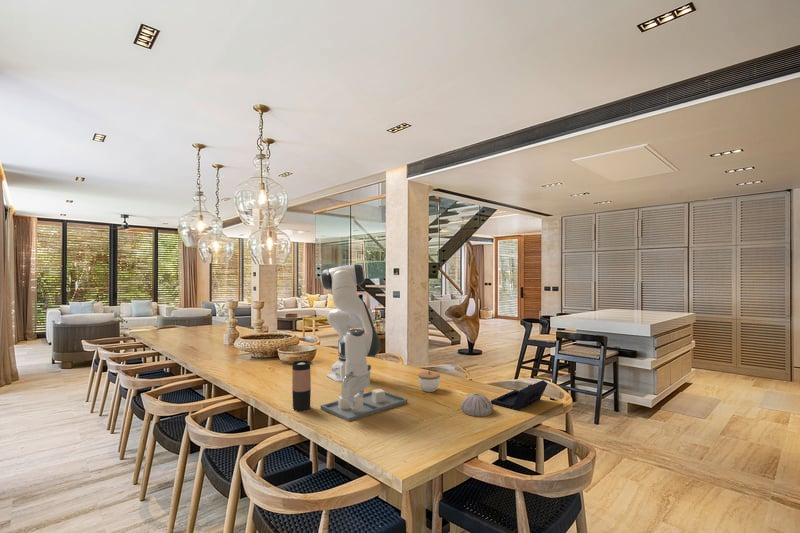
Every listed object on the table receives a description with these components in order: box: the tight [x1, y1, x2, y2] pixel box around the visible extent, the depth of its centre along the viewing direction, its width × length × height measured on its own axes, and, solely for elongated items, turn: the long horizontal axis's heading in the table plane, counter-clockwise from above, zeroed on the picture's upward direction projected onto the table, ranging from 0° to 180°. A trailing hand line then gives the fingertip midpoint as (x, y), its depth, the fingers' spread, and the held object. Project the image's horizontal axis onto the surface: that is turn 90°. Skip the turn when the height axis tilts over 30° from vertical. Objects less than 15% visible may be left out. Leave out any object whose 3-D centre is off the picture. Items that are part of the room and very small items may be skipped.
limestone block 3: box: [371, 388, 386, 403], centre depth 178 cm, size 4×4×4 cm
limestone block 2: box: [351, 393, 363, 410], centre depth 164 cm, size 4×4×4 cm
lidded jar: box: [417, 370, 441, 393], centre depth 197 cm, size 11×11×9 cm
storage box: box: [490, 379, 548, 411], centre depth 176 cm, size 21×16×10 cm
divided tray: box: [320, 390, 408, 423], centre depth 173 cm, size 20×32×2 cm, turn 133°
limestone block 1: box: [337, 394, 351, 410], centre depth 170 cm, size 4×4×4 cm
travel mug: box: [291, 360, 312, 412], centre depth 171 cm, size 8×8×20 cm
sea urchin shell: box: [460, 393, 494, 417], centre depth 165 cm, size 13×14×8 cm
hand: (356, 403), depth 164 cm, fingers closed on limestone block 2, 6 cm apart
